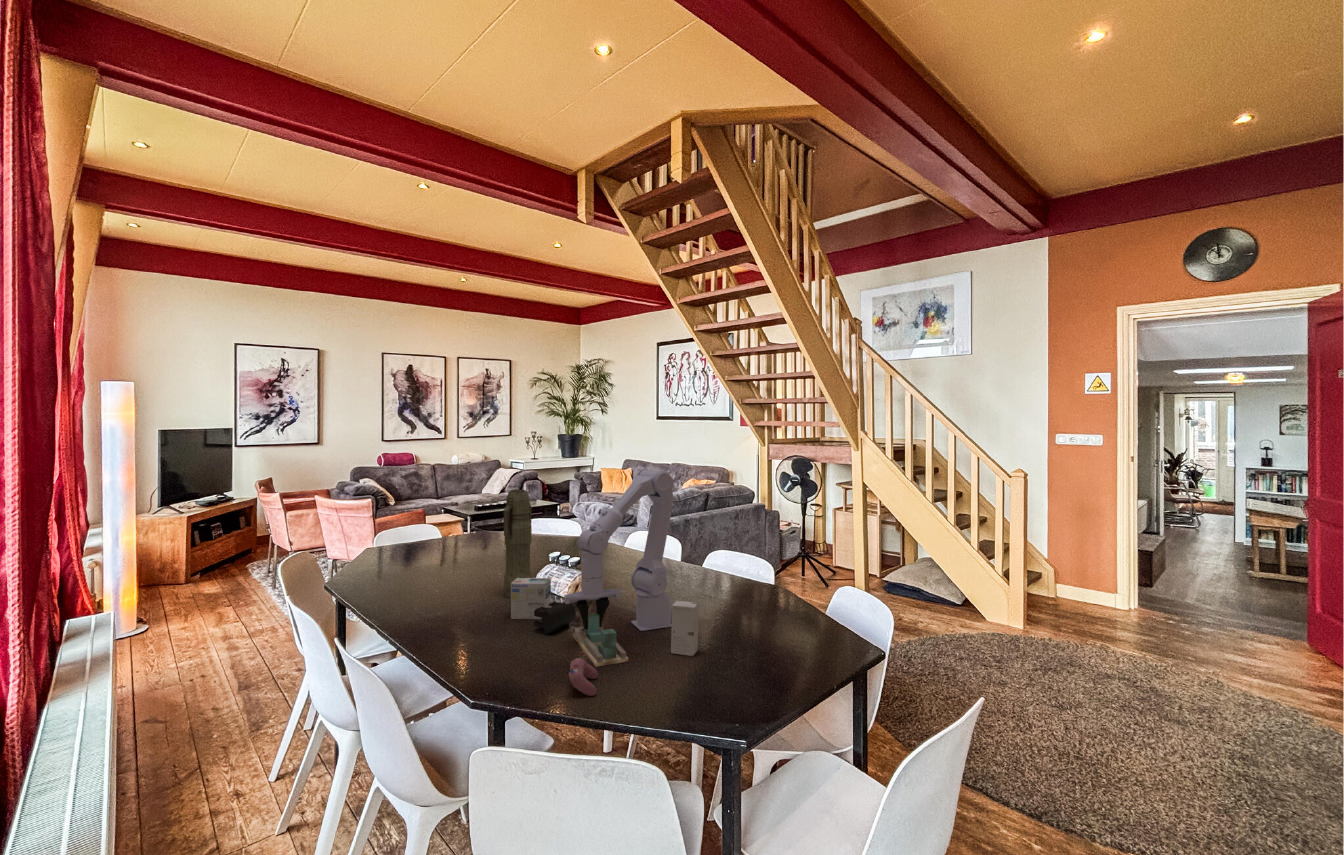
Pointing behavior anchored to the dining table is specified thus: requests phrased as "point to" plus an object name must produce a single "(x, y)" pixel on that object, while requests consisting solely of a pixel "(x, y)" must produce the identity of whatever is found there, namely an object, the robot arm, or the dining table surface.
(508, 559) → the thermos
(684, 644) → the skincare box
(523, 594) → the light bulb box
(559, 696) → the dining table surface
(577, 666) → the maroon curved piece
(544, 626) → the black lumpy piece
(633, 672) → the dining table surface
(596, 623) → the teal l-shaped block
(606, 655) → the wooden tray
